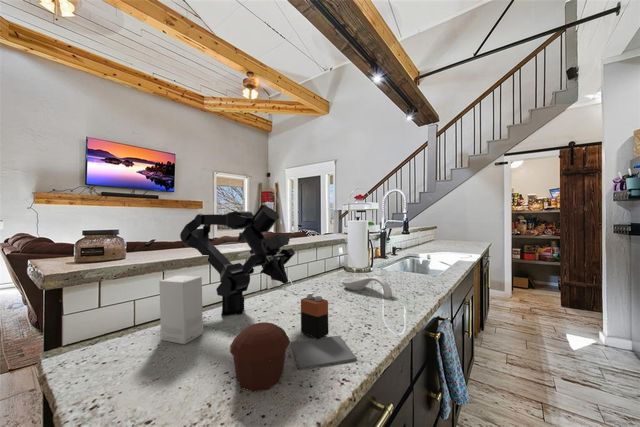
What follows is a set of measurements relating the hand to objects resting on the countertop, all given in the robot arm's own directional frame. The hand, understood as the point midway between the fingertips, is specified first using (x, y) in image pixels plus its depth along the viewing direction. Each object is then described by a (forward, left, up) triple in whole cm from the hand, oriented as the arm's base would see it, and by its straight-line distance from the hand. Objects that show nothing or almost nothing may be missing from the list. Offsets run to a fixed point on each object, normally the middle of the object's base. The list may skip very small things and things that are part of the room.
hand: (286, 282), depth 74 cm
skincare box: (-27, 0, -13) cm, 30 cm away
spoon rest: (+38, +25, -13) cm, 47 cm away
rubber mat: (+6, -16, -13) cm, 21 cm away
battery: (+7, -8, -12) cm, 16 cm away
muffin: (-8, -22, -13) cm, 26 cm away
